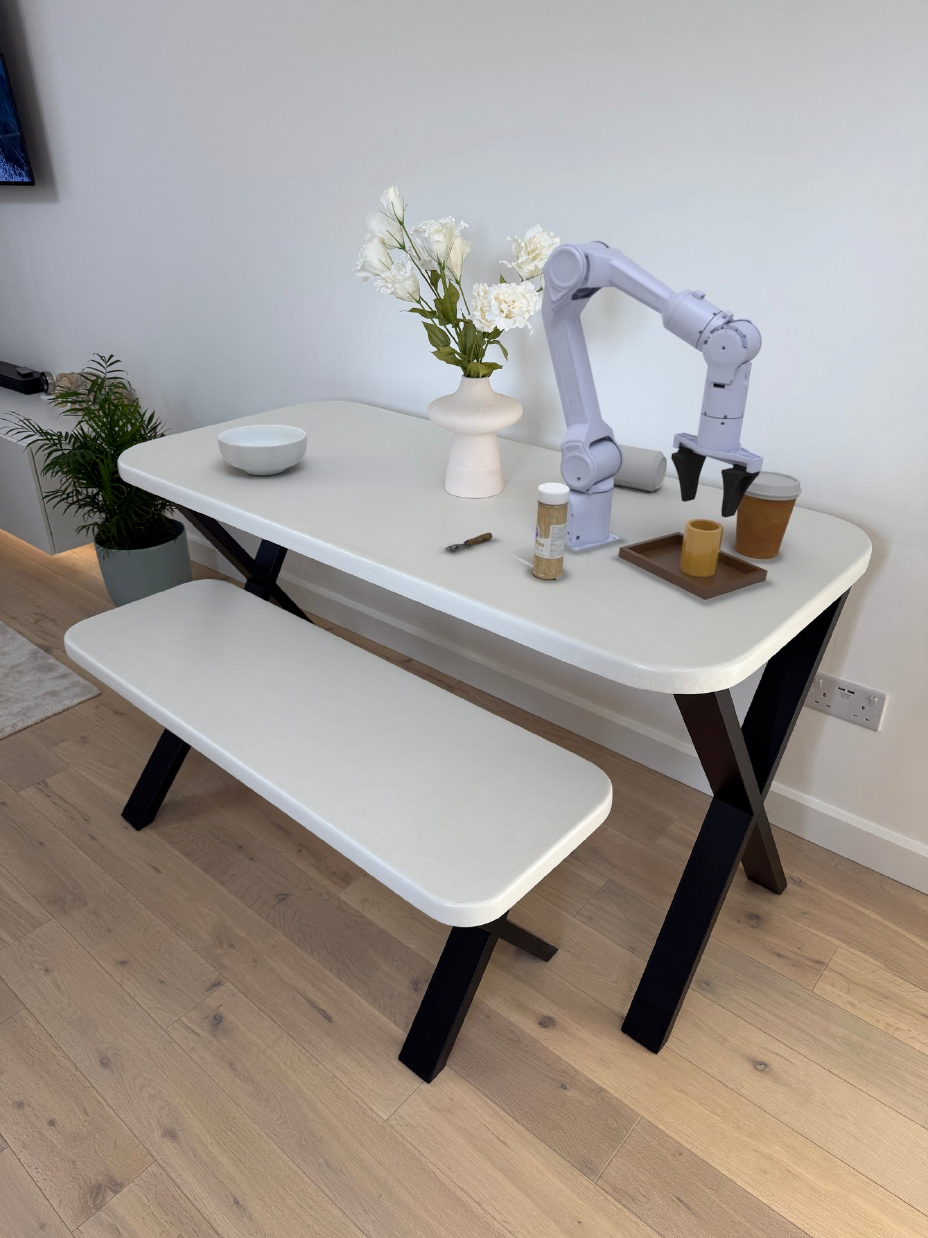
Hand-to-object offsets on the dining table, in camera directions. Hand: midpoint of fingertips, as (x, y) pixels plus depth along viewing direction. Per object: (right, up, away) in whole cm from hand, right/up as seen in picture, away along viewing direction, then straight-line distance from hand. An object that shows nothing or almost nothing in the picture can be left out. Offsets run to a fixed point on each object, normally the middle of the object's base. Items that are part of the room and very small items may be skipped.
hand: (707, 507), depth 123 cm
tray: (-1, -9, +4) cm, 10 cm away
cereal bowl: (-74, +13, +44) cm, 87 cm away
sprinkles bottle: (-23, -10, +2) cm, 25 cm away
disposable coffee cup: (+10, -6, +10) cm, 16 cm away
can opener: (-34, -5, +11) cm, 36 cm away
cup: (-1, -9, +3) cm, 9 cm away
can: (+1, +11, +34) cm, 36 cm away
